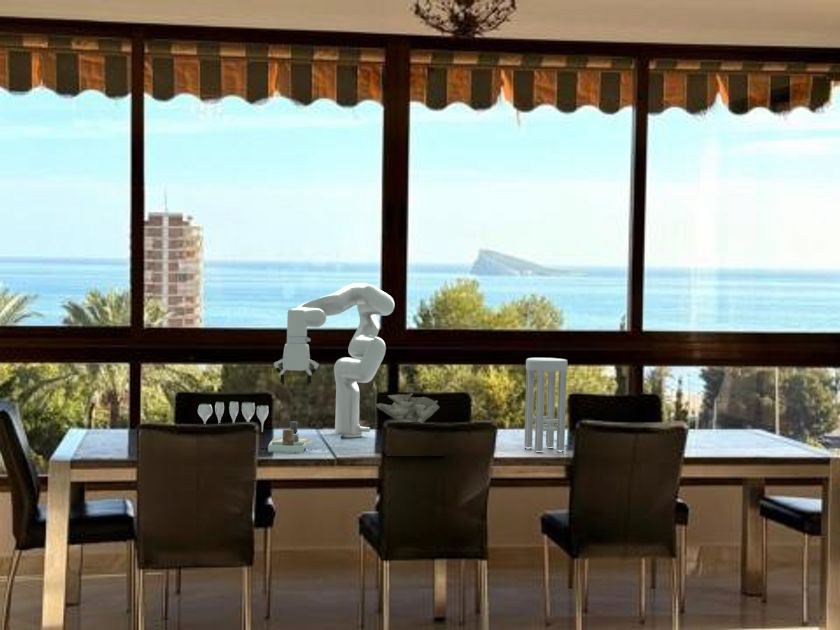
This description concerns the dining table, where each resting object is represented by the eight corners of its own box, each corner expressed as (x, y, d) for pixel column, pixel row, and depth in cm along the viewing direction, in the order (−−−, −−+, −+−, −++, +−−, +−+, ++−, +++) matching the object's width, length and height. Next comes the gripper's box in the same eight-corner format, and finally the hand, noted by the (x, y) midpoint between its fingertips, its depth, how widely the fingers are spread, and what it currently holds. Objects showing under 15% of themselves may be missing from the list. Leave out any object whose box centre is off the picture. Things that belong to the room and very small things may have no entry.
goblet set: (268, 434, 498) (269, 402, 497) (267, 436, 492) (268, 403, 491) (198, 433, 496) (198, 400, 496) (196, 435, 491) (197, 402, 490)
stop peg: (293, 448, 459) (294, 429, 459) (292, 449, 455) (293, 430, 455) (283, 447, 459) (283, 429, 459) (281, 449, 455) (282, 430, 455)
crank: (298, 442, 467) (298, 425, 467) (287, 441, 467) (288, 425, 466) (298, 437, 478) (299, 421, 478) (288, 437, 478) (288, 421, 478)
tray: (306, 448, 462) (306, 442, 462) (303, 453, 452) (303, 446, 452) (271, 448, 462) (271, 441, 462) (268, 452, 452) (268, 445, 452)
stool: (517, 448, 479) (519, 357, 477) (553, 446, 484) (555, 357, 483) (534, 454, 464) (537, 360, 463) (571, 452, 470) (574, 360, 468)
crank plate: (312, 442, 478) (312, 438, 478) (309, 448, 463) (309, 444, 463) (273, 441, 478) (273, 437, 478) (269, 447, 463) (269, 443, 463)
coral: (376, 456, 449) (377, 397, 448) (372, 448, 469) (374, 391, 468) (444, 457, 451) (446, 398, 450) (438, 448, 471) (439, 392, 471)
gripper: (319, 340, 479) (318, 384, 480) (274, 339, 479) (274, 383, 479) (318, 341, 472) (317, 386, 473) (273, 340, 471) (272, 385, 472)
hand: (295, 385), depth 476 cm, fingers open, 9 cm apart
